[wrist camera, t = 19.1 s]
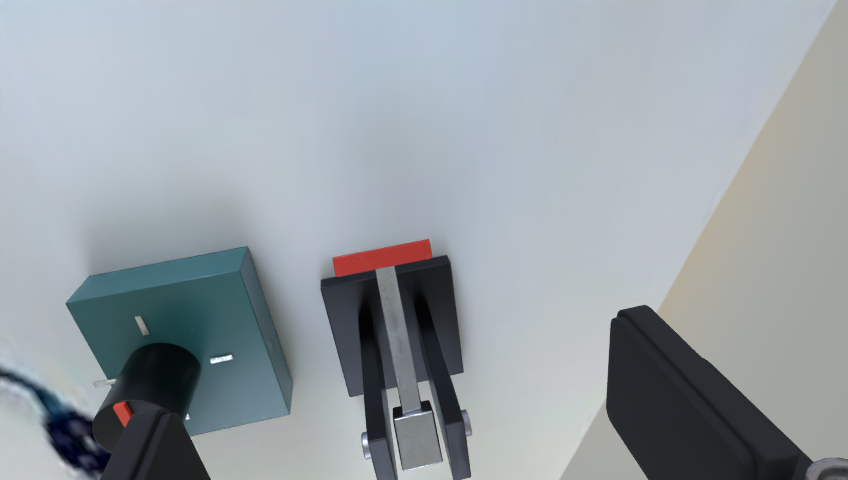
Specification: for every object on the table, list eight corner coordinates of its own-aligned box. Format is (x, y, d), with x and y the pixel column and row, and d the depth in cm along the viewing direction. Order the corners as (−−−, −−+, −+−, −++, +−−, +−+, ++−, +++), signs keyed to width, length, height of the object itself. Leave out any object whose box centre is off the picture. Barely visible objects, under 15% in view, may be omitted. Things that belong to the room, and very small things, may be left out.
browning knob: (210, 388, 33) (190, 453, 28) (142, 402, 32) (110, 471, 27) (187, 335, 31) (160, 396, 26) (114, 350, 30) (73, 415, 25)
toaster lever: (335, 258, 29) (330, 257, 27) (426, 241, 30) (429, 238, 27) (373, 462, 28) (372, 479, 26) (465, 441, 29) (473, 455, 26)
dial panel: (148, 414, 37) (131, 451, 34) (75, 278, 31) (48, 307, 28) (293, 383, 38) (289, 416, 35) (247, 245, 32) (238, 271, 29)
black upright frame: (320, 279, 34) (314, 410, 23) (447, 254, 35) (498, 370, 24) (349, 386, 39) (355, 539, 28) (460, 362, 39) (509, 501, 28)
